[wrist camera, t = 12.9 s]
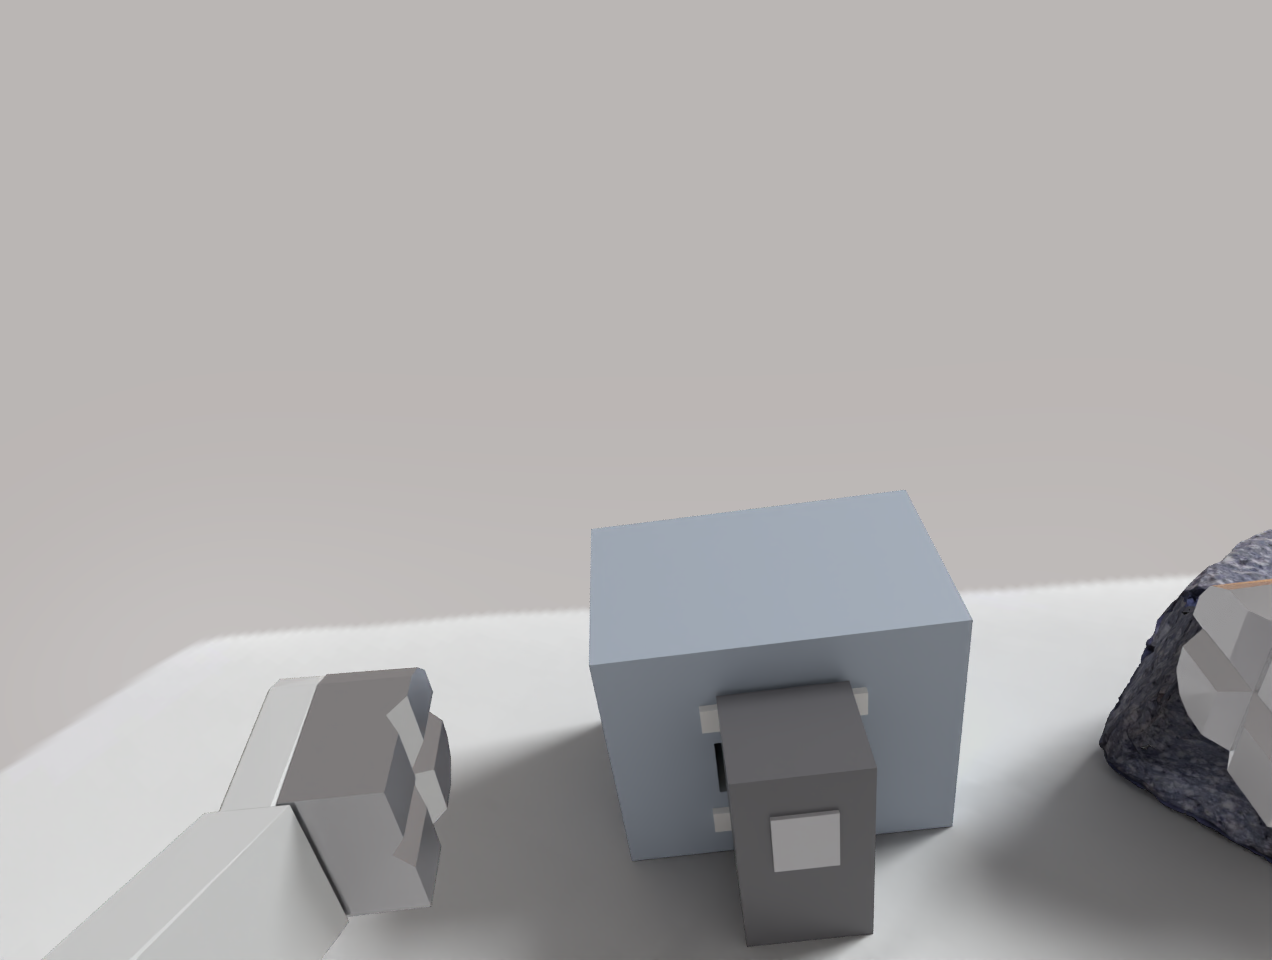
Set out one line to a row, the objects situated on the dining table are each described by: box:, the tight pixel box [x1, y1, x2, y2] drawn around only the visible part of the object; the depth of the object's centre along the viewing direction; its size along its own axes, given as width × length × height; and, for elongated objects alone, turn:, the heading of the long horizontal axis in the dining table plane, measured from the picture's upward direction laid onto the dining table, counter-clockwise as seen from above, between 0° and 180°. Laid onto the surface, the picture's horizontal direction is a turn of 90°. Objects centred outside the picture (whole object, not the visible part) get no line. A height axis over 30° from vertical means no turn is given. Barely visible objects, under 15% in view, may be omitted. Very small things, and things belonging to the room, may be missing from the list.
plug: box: [716, 681, 877, 947], centre depth 36 cm, size 5×8×10 cm, turn 2°
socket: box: [589, 490, 973, 861], centre depth 39 cm, size 14×9×12 cm, turn 92°
